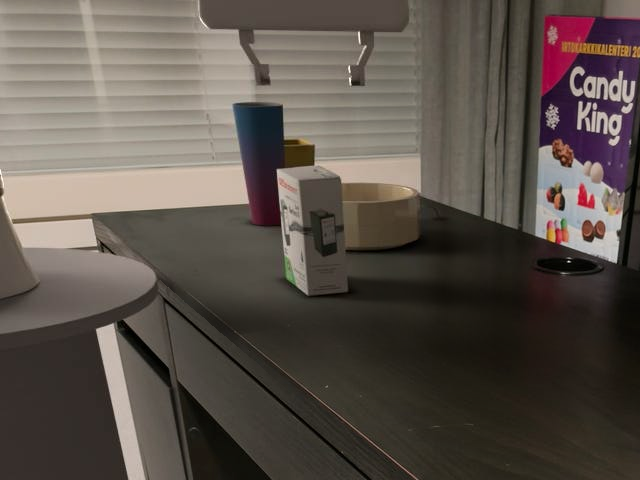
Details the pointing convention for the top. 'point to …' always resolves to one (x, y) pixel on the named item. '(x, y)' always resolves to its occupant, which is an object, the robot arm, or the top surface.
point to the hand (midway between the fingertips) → (310, 85)
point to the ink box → (313, 229)
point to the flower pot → (299, 153)
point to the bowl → (379, 215)
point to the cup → (261, 156)
